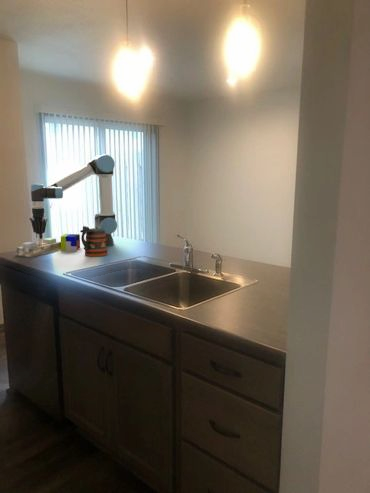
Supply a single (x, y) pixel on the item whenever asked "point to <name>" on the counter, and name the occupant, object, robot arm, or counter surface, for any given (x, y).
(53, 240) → the key sage
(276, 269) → the counter surface
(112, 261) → the counter surface
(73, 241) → the puzzle toy
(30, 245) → the key slate
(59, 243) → the key console
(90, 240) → the beer stein
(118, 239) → the counter surface
